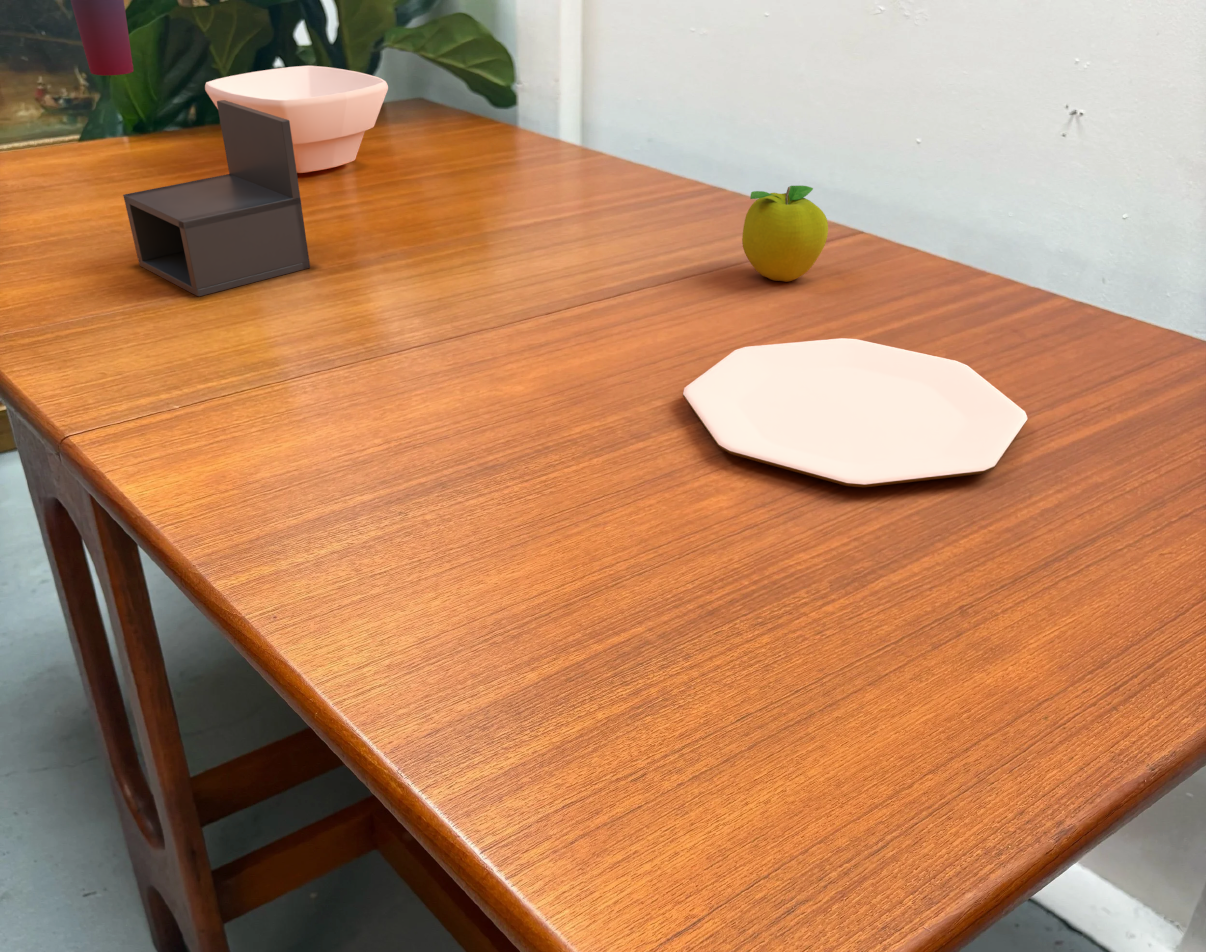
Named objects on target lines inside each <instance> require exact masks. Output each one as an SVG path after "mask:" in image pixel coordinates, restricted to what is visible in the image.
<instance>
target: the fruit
mask: <svg viewBox="0 0 1206 952" xmlns="http://www.w3.org/2000/svg"><path fill="white" fill-rule="evenodd" d="M813 190H814V187H811V186H807V185H790V186H788V187H787V189H786V192H784V193H778V192H767V191H763V190H754V191H751V192H750V200H755V201H753V203H752V204H751V205H750V207H749V208H748V210H747V212H746V214H745V218H744V223H743V229H742V235H741V237H742V238H741V242H742V243H741V244H742V248H743V252H744V254H745V256H746V258H747V260H748V262H749V263H750V264H751V266H752V268H754V270H755V271H756V272H757V273H758V275H759V274H760V275H761V276H762V277H765V278H768V279H769V280H772V281H774V282H775V281H776V282H784V283H785V282H787V283H788V282H791V281H794V280H797V279H799V278H801V277H802V276H804V275H805V274H807V272H808V271H809V270H810V269H812V267H813V265H814V264H815V263H816V261H818V259H819V257H820V255H821V254H822V252H823V250H824V249H825V246H826V243H827V240H828V235H829V222H828V218H827V216H826V214H825V212H824V211H823V210H822V209H821V208H820V207H819V206H818V205H816V204H815V203H814V202H813V201H811V200H810V199H808V198H805V197H806V196H808V195H809V194H810V193H812V191H813Z"/></svg>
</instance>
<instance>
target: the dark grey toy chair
mask: <svg viewBox="0 0 1206 952" xmlns="http://www.w3.org/2000/svg"><path fill="white" fill-rule="evenodd" d="M217 106H218V109H217V111H218V117H219V123H220V127H221V134H222V138H223V146H224V151H225V156H226V162H227V168H228V169H227V170H228V173H227V174H221V175H217V176H212V177H207V178H202V179H197V180H192V181H186V182H181V183H175V184H171V185H165V186H160V187H156V188H149V189H144V190H140V191H135V192H129V193H125V194H123V195H122V196H123V201H124V205H125V208H126V213H127V218H128V222H129V226H130V231H131V235H132V239H133V243H134V247H135V252H136V256H137V257H136V258H137V261H138V265H139V266H140V268H143V269H145V270H147V271H148V272H151V273H152V274H155V275H157V276H158V277H160V278H162V279H163V280H166V281H167V282H170V283H171V284H173V285H175V286H177V287H179V288H181V289H182V290H185V291H187V292H188V293H190V294H193V295H194V296H196V297H204V296H206V295H211V294H214V293H219V292H222V291H226V290H230V289H234V288H237V287H242V286H246V285H249V284H253V283H256V282H261V281H265V280H269V279H272V278H276V277H277V278H278V277H280V276H284V275H288V274H292V273H296V272H299V271H304V270H307V269H310V268H311V262H310V256H309V249H308V241H307V234H306V228H305V220H304V214H303V205H302V198H301V193H300V186H299V177H298V173H297V171H296V164H295V157H294V150H293V143H292V136H291V129H290V122H289V120H287V119H284V118H280V117H277V116H274V115H271V114H268V113H264V112H261V111H258V110H255V109H251V108H248V107H245V106H242V105H239V104H235V103H232V102H229V101H226V100H220V101H217Z"/></svg>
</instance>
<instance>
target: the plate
mask: <svg viewBox="0 0 1206 952" xmlns="http://www.w3.org/2000/svg"><path fill="white" fill-rule="evenodd" d="M682 397H683V398H684V400H685V401H686V403H687V404H688V406H689V407H690V408H691V409H692V411H693V413H694V414H695V416H696V417H697V418H698V419H699V421H700V423H701V424H702V425H703V427H704V428H705V429H706V431H707V432H708V434H709V435H710V436H711V439H712V440H713V441H714V442H715V444H716V445H717V447H718V448H720V449H721V450H723V451H725V452H727V453H728V454H730V455H733V456H737V457H740V458H743V459H748V460H751V461H755V462H759V463H762V464H765V465H770V466H772V467H777V468H780V469H784V470H787V471H791V472H795V473H799V474H803V475H806V476H809V477H813V478H817V479H819V480H823V481H828V482H830V483H831V482H832V483H834V484H839V485H841V486H845V487H853V488H871V487H878V486H887V485H896V484H897V485H898V484H903V483H904V484H905V483H912V482H923V481H931V480H939V479H948V478H955V477H964V476H972V475H981V474H984V473H987V472H989V471H991V470H994V469H995V468H996V466H997V465H998V464H999V462H1000V460H1001V459H1002V458H1003V456H1004V455H1005V454H1006V452H1007V451H1008V449H1009V448H1010V446H1011V445H1012V443H1013V442H1014V441H1015V439H1016V437H1017V436H1018V435H1019V434H1020V432H1021V430H1022V429H1023V427H1024V426H1025V425H1026V423H1027V422H1028V415H1027V413H1026V411H1025V410H1024V409H1022V408H1021V407H1020V406H1019V405H1018V404H1017V403H1015V402H1014V401H1012V400H1011V399H1010V398H1009V397H1008V396H1006V395H1005V394H1004V393H1003V392H1002V391H1000V390H999V389H997V388H996V387H995V386H994V385H993V384H991V383H990V382H989V381H988V380H987V379H985V378H984V377H983V376H981V375H980V374H979V373H977V371H975V370H974V369H973V368H971V367H970V366H969V365H967V364H965V363H963V362H960V361H958V360H954V359H949V358H945V357H941V356H935V355H930V354H926V353H922V352H917V351H912V350H908V349H904V348H899V347H894V346H890V345H885V344H881V343H875V342H871V341H866V340H862V339H858V338H846V337H845V338H844V337H843V338H842V337H840V338H830V339H818V340H817V339H816V340H806V341H796V342H795V341H794V342H784V343H773V344H762V345H750V346H744V347H740V348H737V349H735V350H733V351H731V353H729V354H728V355H727V356H725V357H724V358H722V359H721V360H719V361H718V362H717V363H715V364H714V365H713V366H712V367H710V368H708V370H706V371H705V372H704V373H701V375H699V376H698V377H697V378H695V379H694V380H693V381H691V382H690V383H689V384H687V385H686V386H685V387H683V393H682Z"/></svg>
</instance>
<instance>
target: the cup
mask: <svg viewBox="0 0 1206 952" xmlns="http://www.w3.org/2000/svg"><path fill="white" fill-rule="evenodd" d="M70 4H71V7H72V12H73V14H74V17H75V22H76V25H77V29H78V33H79V36H80V40H81V43H82V47H83V51H84V54H85V57H86V62H87V65H88V69H89V72H90V74H91V75H95V76H121V75H128V74H131V73H133V72H134V64H133V57H132V50H131V49H132V48H131V43H130V34H129V29H128V28H129V27H128V21H127V14H126V7H125V0H70Z"/></svg>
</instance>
